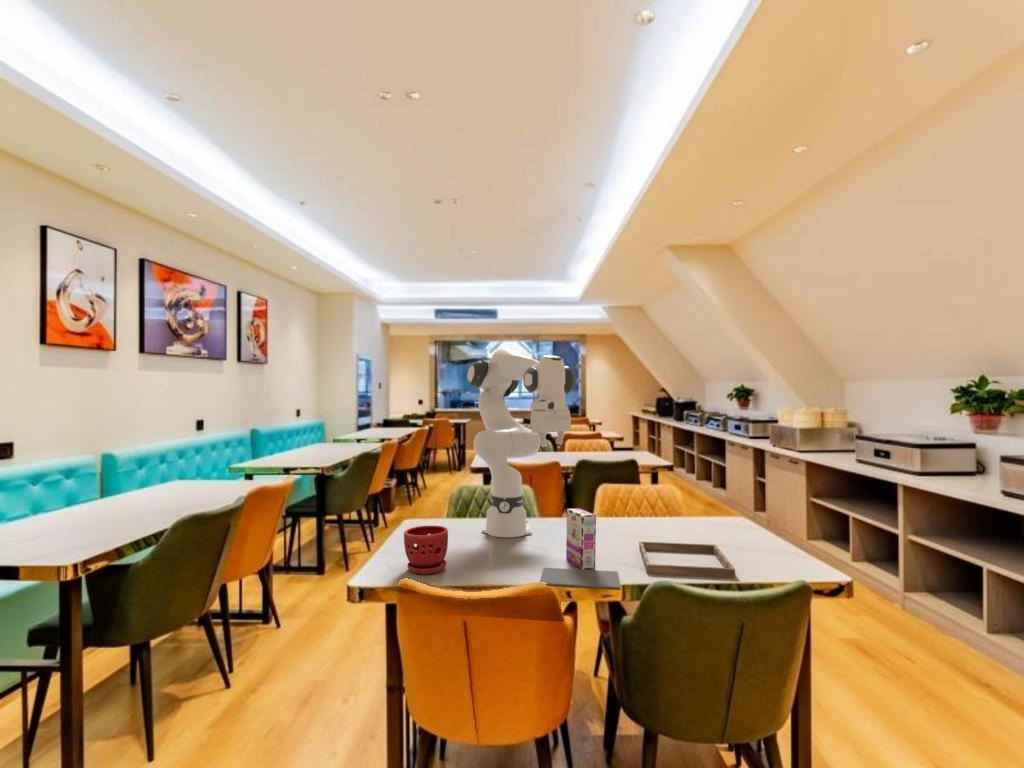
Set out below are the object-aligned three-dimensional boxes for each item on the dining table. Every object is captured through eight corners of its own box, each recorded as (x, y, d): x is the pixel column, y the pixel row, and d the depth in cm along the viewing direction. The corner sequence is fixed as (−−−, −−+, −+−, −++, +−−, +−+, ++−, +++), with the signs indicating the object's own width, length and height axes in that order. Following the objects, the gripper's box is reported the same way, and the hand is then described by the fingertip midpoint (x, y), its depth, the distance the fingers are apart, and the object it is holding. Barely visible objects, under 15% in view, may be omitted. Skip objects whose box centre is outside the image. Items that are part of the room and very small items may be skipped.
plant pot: (449, 562, 174) (449, 524, 174) (445, 576, 161) (445, 535, 161) (407, 562, 174) (407, 524, 174) (400, 577, 161) (400, 535, 161)
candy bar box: (596, 569, 168) (596, 514, 168) (581, 570, 167) (582, 516, 167) (579, 558, 179) (579, 507, 179) (565, 559, 177) (565, 508, 177)
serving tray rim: (639, 548, 189) (639, 541, 189) (715, 552, 186) (715, 544, 186) (646, 573, 165) (646, 565, 165) (735, 578, 161) (735, 569, 161)
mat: (543, 569, 168) (543, 567, 168) (617, 573, 165) (617, 571, 165) (539, 584, 155) (539, 582, 155) (620, 589, 152) (620, 587, 152)
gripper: (559, 403, 196) (559, 442, 195) (527, 404, 179) (527, 447, 179) (575, 403, 192) (575, 443, 192) (543, 404, 175) (543, 448, 175)
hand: (551, 445), depth 185 cm, fingers open, 8 cm apart
